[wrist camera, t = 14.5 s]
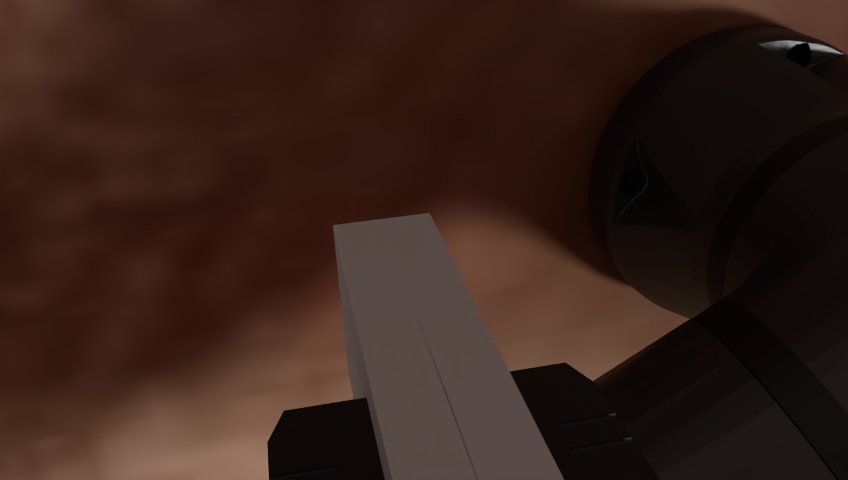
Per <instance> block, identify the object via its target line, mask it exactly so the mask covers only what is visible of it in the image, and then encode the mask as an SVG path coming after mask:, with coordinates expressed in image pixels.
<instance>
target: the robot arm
mask: <svg viewBox="0 0 848 480" xmlns="http://www.w3.org/2000/svg"><path fill="white" fill-rule="evenodd" d="M589 201H590V213H591V219H592V224H593V228H594V231H595V234H596V237H597V239H598V242H599V244H600V246H601V248H602V250H603V252H604V253H605V255H606V256H607V258H608V260H609V261H610V262H611V263H612V265H613V266H614V267H615V268H616V269H617V270H618V271H619V273H620V274H621V275H622V276H623V277H624V278H625V279H626V280H627V282H628V283H629V284H630V285H631V286H632V287H633V288H634V289H635V290H636V291H638V292H639V293H640V294H641V295H643V296H644V297H645V298H647V299H648V300H650V301H651V302H653V303H655V304H656V305H658V306H660V307H662V308H664V309H666V310H669V311H671V312H674V313H676V314H679V315H681V316H684V317H686V318H689V319H690V320H688V321H686V322H685V323H683V324H682V325H680V326H678V327H677V328H675V329H674V330H672V331H671V332H669V333H667V334H666V335H664V336H663V337H661V338H660V339H658V340H657V341H655V342H653V343H652V344H650V345H649V346H647V347H646V348H644V349H642V350H641V351H639V352H638V353H636V354H635V355H633V356H632V357H630V358H628V359H627V360H625V361H624V362H622V363H621V364H619V365H618V366H616V367H614V368H613V369H611V370H610V371H608V372H607V373H605V374H603V375H602V376H600V377H599V378H597V379H596V380H594V381H591V380H590V379H589V378H587V377H586V376H584V375H583V374H581V373H580V372H578V371H577V370H575V369H574V368H573V367H571V366H570V365H568V364H567V363H560V364H554V365H548V366H541V367H535V368H529V369H523V370H516V371H510V372H509V370H508V368H507V366H506V364H505V362H504V360H503V358H502V356H501V354H500V352H499V350H498V348H497V346H496V344H495V342H494V340H493V338H492V336H491V334H490V332H489V330H488V328H487V326H486V324H485V322H484V320H483V318H482V316H481V314H480V312H479V310H478V308H477V306H476V304H475V302H474V300H473V298H472V296H471V294H470V292H469V290H468V288H467V286H466V284H465V282H464V281H463V279H462V277H461V275H460V273H459V271H458V269H457V267H456V265H455V263H454V261H453V259H452V257H451V255H450V253H449V251H448V249H447V247H446V245H445V243H444V241H443V239H442V237H441V235H440V233H439V231H438V229H437V227H436V225H435V223H434V221H433V219H432V217H431V215H430V213H425V214H417V215H410V216H402V217H394V218H386V219H378V220H370V221H362V222H354V223H346V224H339V225H333V232H334V241H335V251H336V260H337V269H338V279H339V288H340V297H341V306H342V316H343V325H344V334H345V343H346V353H347V362H348V371H349V377H350V382H351V387H352V392H353V397H354V400H348V401H341V402H335V403H329V404H323V405H317V406H311V407H304V408H298V409H292V410H286V411H284V412H283V414H282V416H281V417H280V419H279V421H278V423H277V425H276V427H275V429H274V431H273V433H272V435H271V437H270V439H269V440H268V466H269V480H848V55H847V54H845V53H844V52H842V51H841V50H839V49H838V48H836V47H834V46H832V45H830V44H828V43H826V42H824V41H821V40H819V39H816V38H813V37H810V36H807V35H804V34H801V33H798V32H795V31H792V30H789V29H785V28H780V27H774V26H759V25H756V26H743V27H735V28H731V29H726V30H722V31H719V32H715V33H712V34H710V35H707V36H704V37H702V38H700V39H697V40H695V41H693V42H691V43H689V44H687V45H686V46H684V47H682V48H680V49H679V50H677V51H675V52H674V53H672V54H671V55H669V56H668V57H667V58H665V59H664V60H662V61H661V62H660V63H659V64H657V65H656V66H655V67H654V68H653V69H651V70H650V71H649V72H648V73H647V74H646V75H645V76H644V77H643V78H642V79H641V80H640V81H639V82H638V83H637V84H636V85H635V86H634V88H633V89H632V90H631V91H630V92H629V94H628V95H627V96H626V97H625V99H624V100H623V102H622V103H621V104H620V106H619V107H618V109H617V110H616V112H615V113H614V115H613V117H612V119H611V120H610V122H609V124H608V126H607V128H606V130H605V132H604V134H603V136H602V139H601V141H600V144H599V147H598V150H597V153H596V156H595V159H594V163H593V168H592V173H591V179H590V193H589Z"/></svg>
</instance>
